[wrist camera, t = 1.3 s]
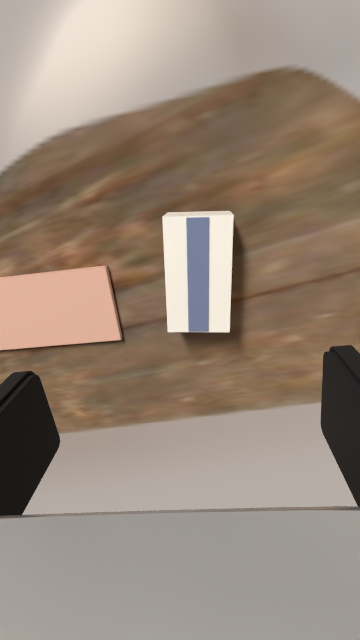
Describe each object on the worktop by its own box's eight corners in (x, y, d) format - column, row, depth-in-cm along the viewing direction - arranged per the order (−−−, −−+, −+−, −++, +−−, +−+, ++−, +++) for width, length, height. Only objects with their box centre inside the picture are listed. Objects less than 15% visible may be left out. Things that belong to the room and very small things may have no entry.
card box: (229, 210, 27) (233, 215, 23) (226, 314, 30) (229, 332, 26) (168, 212, 27) (162, 216, 23) (172, 314, 30) (167, 332, 27)
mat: (107, 265, 29) (105, 266, 28) (122, 337, 31) (120, 339, 31) (-39, 281, 30) (-43, 283, 30) (-13, 348, 33) (-16, 351, 32)
